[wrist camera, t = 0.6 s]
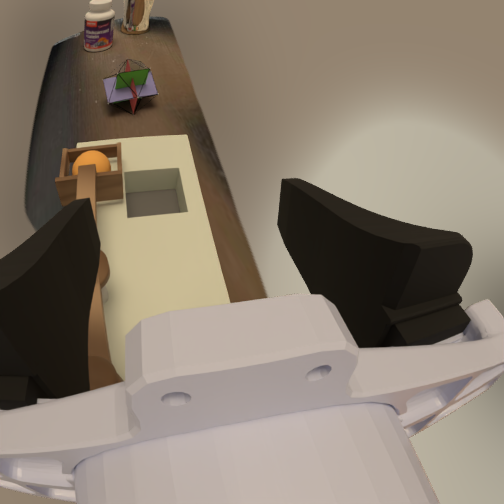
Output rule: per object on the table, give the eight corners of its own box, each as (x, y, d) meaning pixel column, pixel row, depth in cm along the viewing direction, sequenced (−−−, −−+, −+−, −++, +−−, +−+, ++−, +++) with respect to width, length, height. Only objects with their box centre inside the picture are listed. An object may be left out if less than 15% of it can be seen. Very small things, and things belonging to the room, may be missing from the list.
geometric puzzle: (166, 109, 37) (160, 49, 33) (113, 120, 33) (106, 57, 30) (150, 111, 42) (145, 59, 38) (104, 121, 39) (98, 67, 35)
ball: (112, 196, 27) (110, 169, 24) (74, 201, 26) (68, 174, 23) (111, 167, 28) (110, 140, 25) (76, 172, 27) (71, 144, 24)
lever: (154, 397, 20) (152, 387, 14) (76, 407, 17) (44, 400, 12) (121, 155, 29) (121, 98, 23) (66, 161, 27) (57, 105, 21)
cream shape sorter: (236, 370, 26) (262, 352, 20) (95, 395, 22) (73, 385, 16) (183, 157, 36) (192, 108, 30) (80, 166, 32) (73, 115, 26)
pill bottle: (82, 53, 43) (83, 6, 35) (86, 42, 45) (87, -2, 37) (111, 51, 45) (114, 3, 37) (113, 40, 47) (117, -5, 39)
